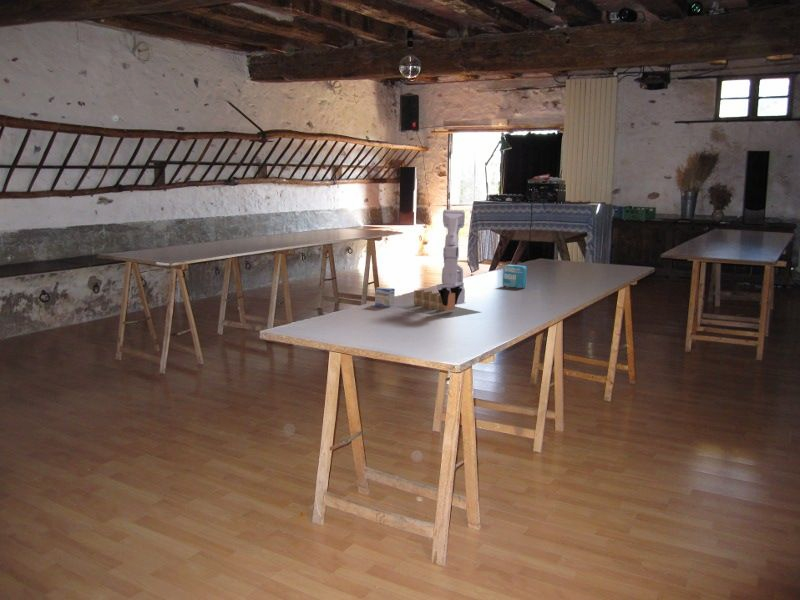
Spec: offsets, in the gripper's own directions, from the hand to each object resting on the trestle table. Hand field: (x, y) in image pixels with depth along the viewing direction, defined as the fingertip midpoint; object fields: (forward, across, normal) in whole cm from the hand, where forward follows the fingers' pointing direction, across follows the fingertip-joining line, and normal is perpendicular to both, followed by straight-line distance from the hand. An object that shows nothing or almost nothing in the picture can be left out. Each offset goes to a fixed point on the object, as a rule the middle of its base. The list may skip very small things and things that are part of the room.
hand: (449, 304), depth 298 cm
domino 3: (+3, 0, +10) cm, 11 cm away
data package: (+4, +79, +31) cm, 85 cm away
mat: (+4, +1, +8) cm, 9 cm away
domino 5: (+2, 0, 0) cm, 2 cm away
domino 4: (+3, 0, +5) cm, 6 cm away
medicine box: (+4, -13, +29) cm, 32 cm away
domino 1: (+3, 0, +20) cm, 20 cm away
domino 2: (+3, 0, +15) cm, 15 cm away
